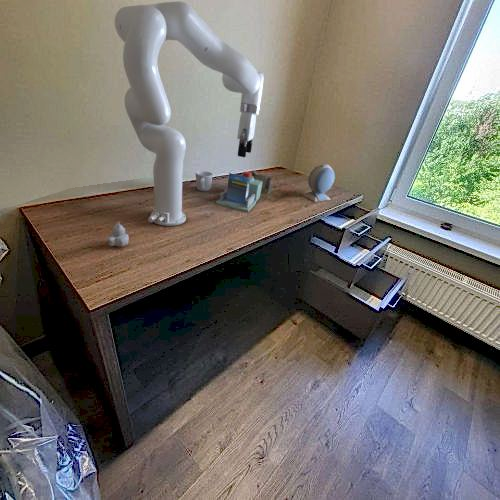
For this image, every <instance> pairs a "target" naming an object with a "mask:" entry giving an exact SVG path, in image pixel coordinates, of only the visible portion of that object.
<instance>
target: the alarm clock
mask: <svg viewBox="0 0 500 500" xmlns="http://www.w3.org/2000/svg"><path fill="white" fill-rule="evenodd" d="M335 176H336V174H335V171H334V169H333V168H332V167H331V165H329V164H327V163H321V164H320V165H317V166H315V167H313V169H312V170H311V171H310V173H309V176H308V179H307V183H308V186H309V188H310V190H311V191H309V192H306V193H303V194H302V196H303V197H305V198H307V199H310V200H311V201H312V202H315V203H317V202H324V201H325V202H326V201H331V200H332V199H331V198H330V197H329V196H328V195H327V194H326V193H327V192H328V191H329V190H330V189H331V188H332V187H333V184H334V182H335V178H336V177H335Z"/></svg>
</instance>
